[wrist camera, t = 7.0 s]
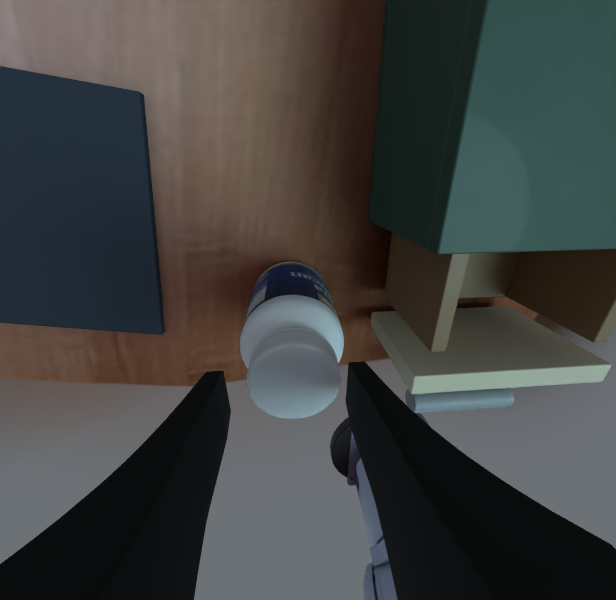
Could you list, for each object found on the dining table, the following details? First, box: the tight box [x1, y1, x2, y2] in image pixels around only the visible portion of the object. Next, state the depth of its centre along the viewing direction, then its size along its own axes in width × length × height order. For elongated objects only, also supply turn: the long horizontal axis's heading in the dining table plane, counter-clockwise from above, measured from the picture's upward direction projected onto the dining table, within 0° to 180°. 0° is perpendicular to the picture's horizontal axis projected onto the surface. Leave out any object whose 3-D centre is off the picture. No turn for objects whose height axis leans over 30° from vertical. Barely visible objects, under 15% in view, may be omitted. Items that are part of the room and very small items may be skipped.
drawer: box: [371, 232, 616, 413], centre depth 16 cm, size 17×11×7 cm, turn 1°
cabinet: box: [368, 0, 616, 254], centre depth 12 cm, size 14×12×9 cm
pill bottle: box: [240, 262, 344, 419], centre depth 15 cm, size 5×5×10 cm
